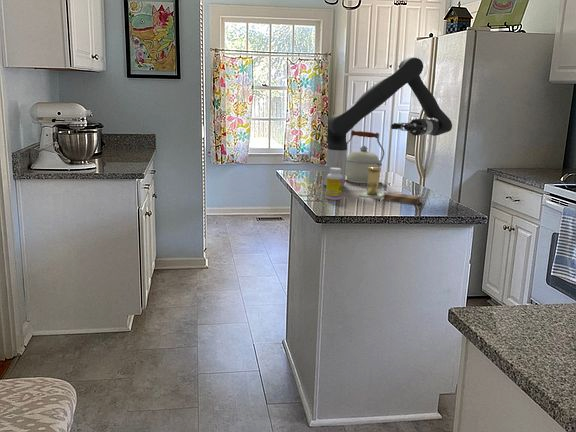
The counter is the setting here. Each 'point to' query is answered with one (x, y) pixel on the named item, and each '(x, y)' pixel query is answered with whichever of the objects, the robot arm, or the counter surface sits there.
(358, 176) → the kettle
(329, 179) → the supplement bottle
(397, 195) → the brown flat block
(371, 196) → the pad
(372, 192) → the gold cylindrical canister
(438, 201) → the counter surface
